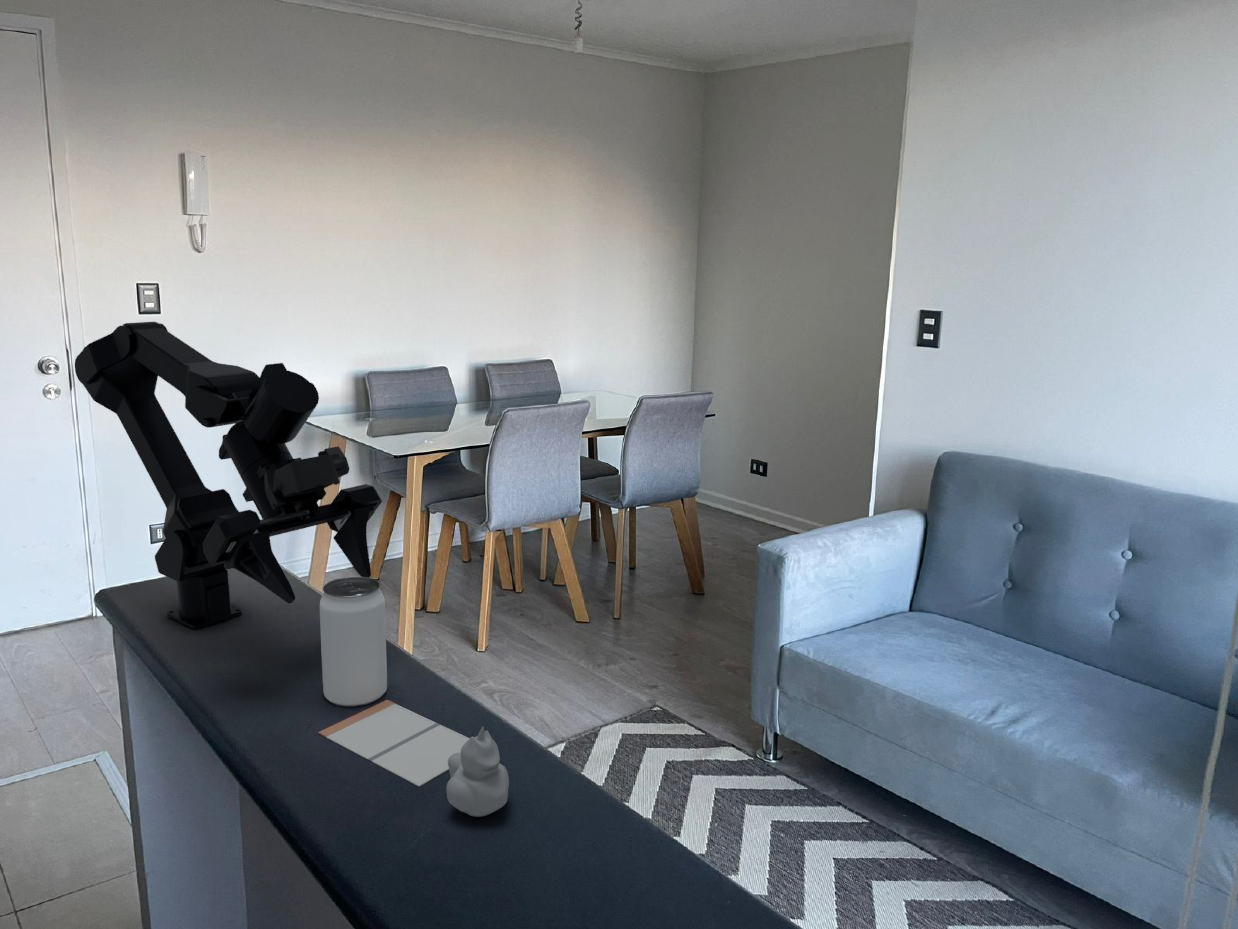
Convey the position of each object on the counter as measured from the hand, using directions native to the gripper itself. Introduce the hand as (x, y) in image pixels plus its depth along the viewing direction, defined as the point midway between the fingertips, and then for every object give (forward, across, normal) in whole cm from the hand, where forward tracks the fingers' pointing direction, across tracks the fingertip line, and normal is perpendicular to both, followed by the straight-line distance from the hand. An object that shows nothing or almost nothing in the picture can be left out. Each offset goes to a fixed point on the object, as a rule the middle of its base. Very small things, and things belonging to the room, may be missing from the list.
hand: (331, 589), depth 100 cm
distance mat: (+18, -3, -3) cm, 18 cm away
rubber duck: (+27, -5, -12) cm, 30 cm away
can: (+10, 0, +5) cm, 11 cm away
